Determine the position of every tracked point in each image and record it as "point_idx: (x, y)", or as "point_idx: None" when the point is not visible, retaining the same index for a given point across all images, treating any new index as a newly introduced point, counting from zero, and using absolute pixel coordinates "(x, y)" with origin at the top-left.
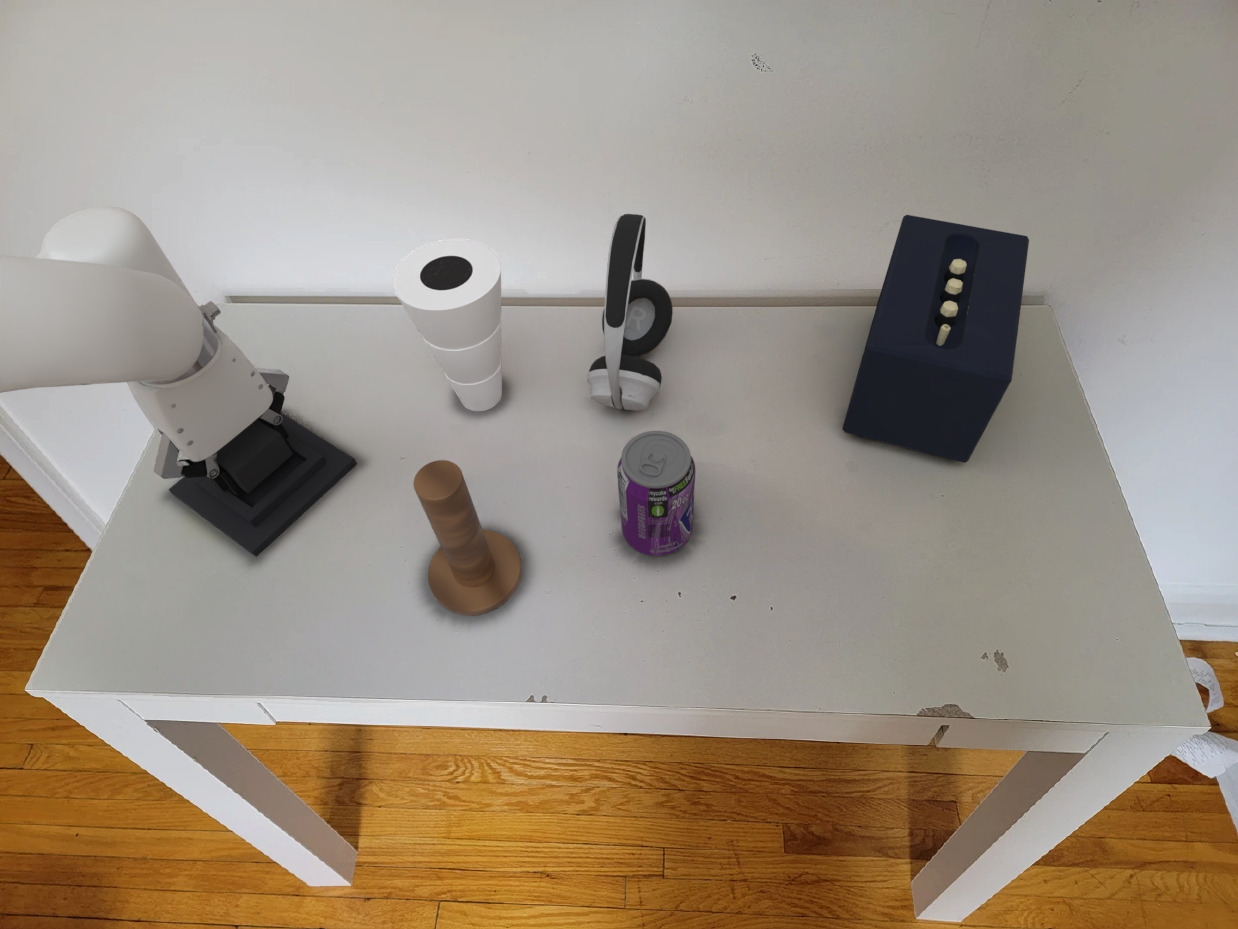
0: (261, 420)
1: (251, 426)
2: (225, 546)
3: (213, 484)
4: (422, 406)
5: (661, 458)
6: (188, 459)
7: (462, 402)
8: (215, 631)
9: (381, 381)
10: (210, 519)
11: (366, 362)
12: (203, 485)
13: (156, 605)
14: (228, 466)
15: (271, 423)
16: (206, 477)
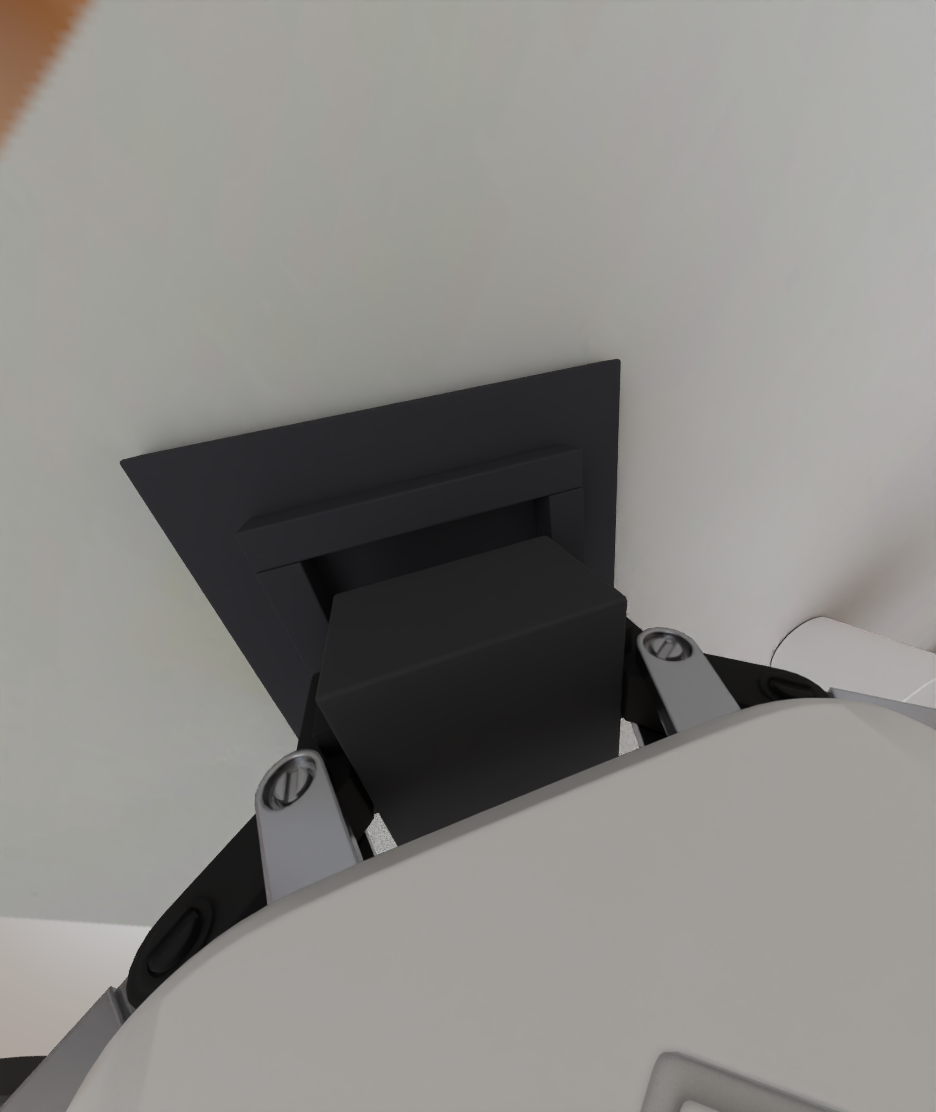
0: (623, 685)
1: (583, 707)
2: (271, 714)
3: (311, 681)
4: (754, 611)
5: None
6: (244, 914)
7: (788, 664)
8: (192, 858)
9: (789, 495)
10: (257, 670)
11: (836, 403)
12: (273, 595)
13: (38, 785)
14: (406, 838)
15: (638, 743)
16: (295, 569)
